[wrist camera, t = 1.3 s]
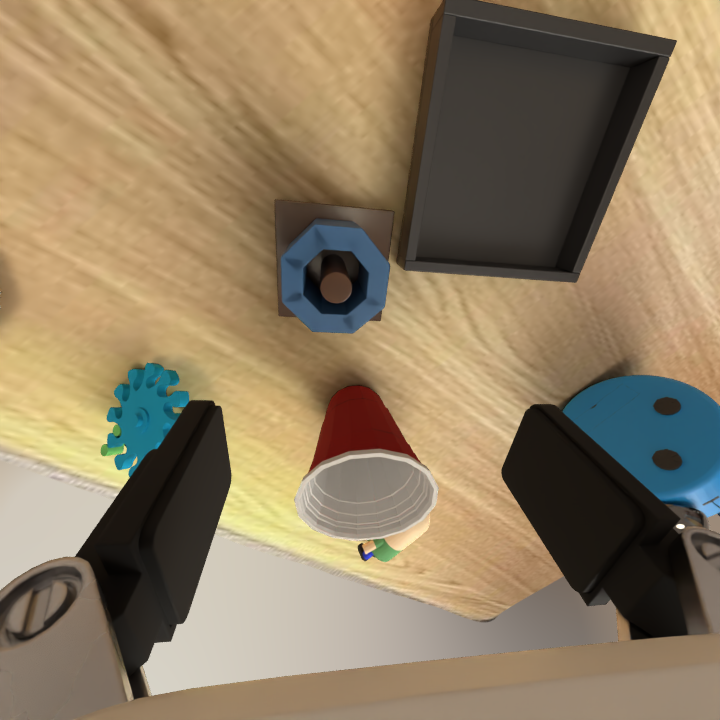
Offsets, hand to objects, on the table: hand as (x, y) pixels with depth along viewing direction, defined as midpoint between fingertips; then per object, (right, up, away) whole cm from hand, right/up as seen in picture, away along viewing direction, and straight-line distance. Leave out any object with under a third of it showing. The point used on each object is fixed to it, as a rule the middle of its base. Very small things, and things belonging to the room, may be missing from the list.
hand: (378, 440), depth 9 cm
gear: (-20, -1, +21) cm, 29 cm away
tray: (+11, +17, +14) cm, 25 cm away
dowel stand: (-3, +11, +16) cm, 20 cm away
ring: (-3, +10, +16) cm, 19 cm away
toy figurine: (+4, -20, +34) cm, 39 cm away
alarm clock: (+27, -3, +27) cm, 38 cm away
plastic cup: (-1, -3, +24) cm, 24 cm away
